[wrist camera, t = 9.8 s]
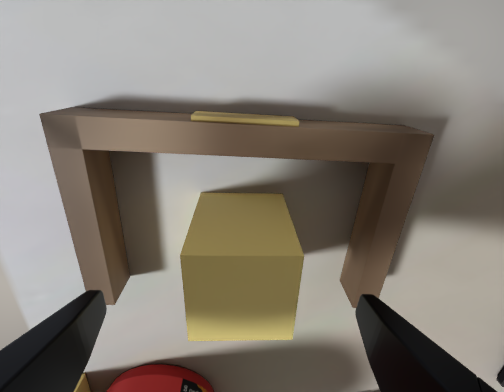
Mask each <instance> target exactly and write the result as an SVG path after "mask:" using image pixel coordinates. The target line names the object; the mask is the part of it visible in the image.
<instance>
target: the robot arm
mask: <svg viewBox="0 0 504 392" xmlns="http://www.w3.org/2000/svg"><path fill="white" fill-rule="evenodd" d="M105 315H106V303H105V299H104V294H103V292H102V291H101V290H88V291H86V292H84V293H83V294H82V295H80V296H79V297H77V298H76V299H74V300H73V301H71V302H70V303H68V304H67V305H66V306H64V307H63V308H61V309H60V310H58V311H57V312H55V313H54V314H53V315H51V316H50V317H48V318H47V319H45V320H44V321H42V322H41V323H39V324H38V325H37V326H35V327H34V328H32V329H31V330H29V331H28V332H26V333H25V334H23V335H22V336H21V337H19V338H18V339H16V340H15V341H13V342H12V343H10V344H9V345H8V346H6V347H5V348H3V349H2V350H0V392H74V390H75V388H76V386H77V384H78V382H79V380H80V378H81V376H82V374H83V372H84V369H85V367H86V365H87V363H88V361H89V358H90V356H91V353H92V350H93V348H94V345H95V342H96V339H97V337H98V334H99V331H100V329H101V326H102V323H103V320H104V318H105ZM356 319H357V322H358V326H359V329H360V333H361V336H362V340H363V343H364V347H365V350H366V354H367V357H368V360H369V363H370V366H371V368H372V371H373V373H374V376H375V379H376V381H377V384H378V386H379V389H380V391H381V392H497V391H496V390H494V389H493V388H492V387H491V386H489V385H488V384H487V383H486V382H484V381H483V380H482V379H480V378H479V377H477V376H476V375H475V374H474V373H473V372H471V371H470V370H469V369H468V368H466V367H465V366H464V365H463V364H461V363H460V362H459V361H457V360H456V359H455V358H454V357H452V356H451V355H450V354H449V353H447V352H446V351H445V350H443V349H442V348H441V347H440V346H438V345H437V344H436V343H435V342H433V341H432V340H431V339H429V338H428V337H427V336H426V335H424V334H423V333H422V332H421V331H419V330H418V329H417V328H415V327H414V326H413V325H412V324H410V323H409V322H408V321H407V320H405V319H404V318H403V317H401V316H400V315H399V314H398V313H396V312H395V311H394V310H393V309H391V308H390V307H389V306H387V305H386V304H385V303H384V302H382V301H381V300H380V299H379V298H377V297H376V296H375V295H373V294H362V295H361V296H360V298H359V301H358V304H357V308H356ZM497 381H498V382H499V383H500V385H501V386H502V387H504V368H503V370H502V371H501V373H500V374H499V376H498V377H497Z"/></svg>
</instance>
